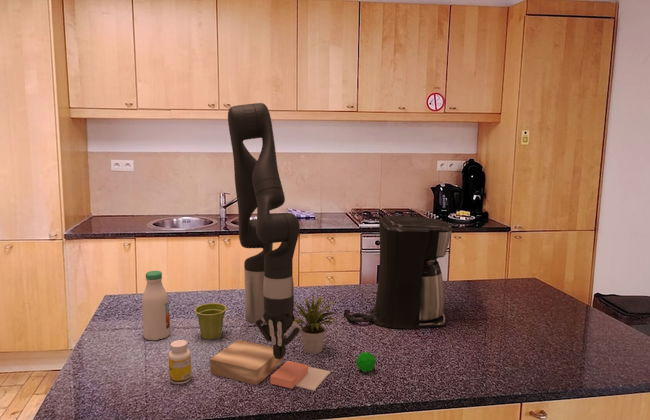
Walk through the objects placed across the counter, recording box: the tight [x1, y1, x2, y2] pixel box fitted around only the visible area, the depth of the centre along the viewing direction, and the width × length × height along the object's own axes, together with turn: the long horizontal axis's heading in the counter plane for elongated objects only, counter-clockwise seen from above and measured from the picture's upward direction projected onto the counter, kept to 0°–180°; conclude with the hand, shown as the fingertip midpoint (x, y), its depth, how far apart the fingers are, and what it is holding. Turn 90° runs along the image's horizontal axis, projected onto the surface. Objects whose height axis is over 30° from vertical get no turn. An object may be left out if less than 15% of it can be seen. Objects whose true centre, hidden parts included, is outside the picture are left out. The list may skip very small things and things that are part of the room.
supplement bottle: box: [168, 339, 193, 385], centre depth 126 cm, size 5×5×10 cm
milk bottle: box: [141, 270, 171, 341], centre depth 151 cm, size 8×8×20 cm
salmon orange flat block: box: [269, 360, 309, 390], centre depth 127 cm, size 9×6×2 cm, turn 156°
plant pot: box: [194, 302, 227, 340], centre depth 152 cm, size 9×9×9 cm
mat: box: [294, 366, 331, 391], centre depth 129 cm, size 10×12×1 cm
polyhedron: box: [355, 351, 377, 373], centre depth 132 cm, size 5×5×5 cm
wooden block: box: [209, 339, 283, 386], centre depth 133 cm, size 13×14×4 cm
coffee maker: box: [343, 215, 454, 330], centre depth 163 cm, size 23×32×34 cm
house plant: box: [294, 294, 340, 354], centre depth 142 cm, size 14×14×16 cm
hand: (279, 357), depth 128 cm, fingers closed
